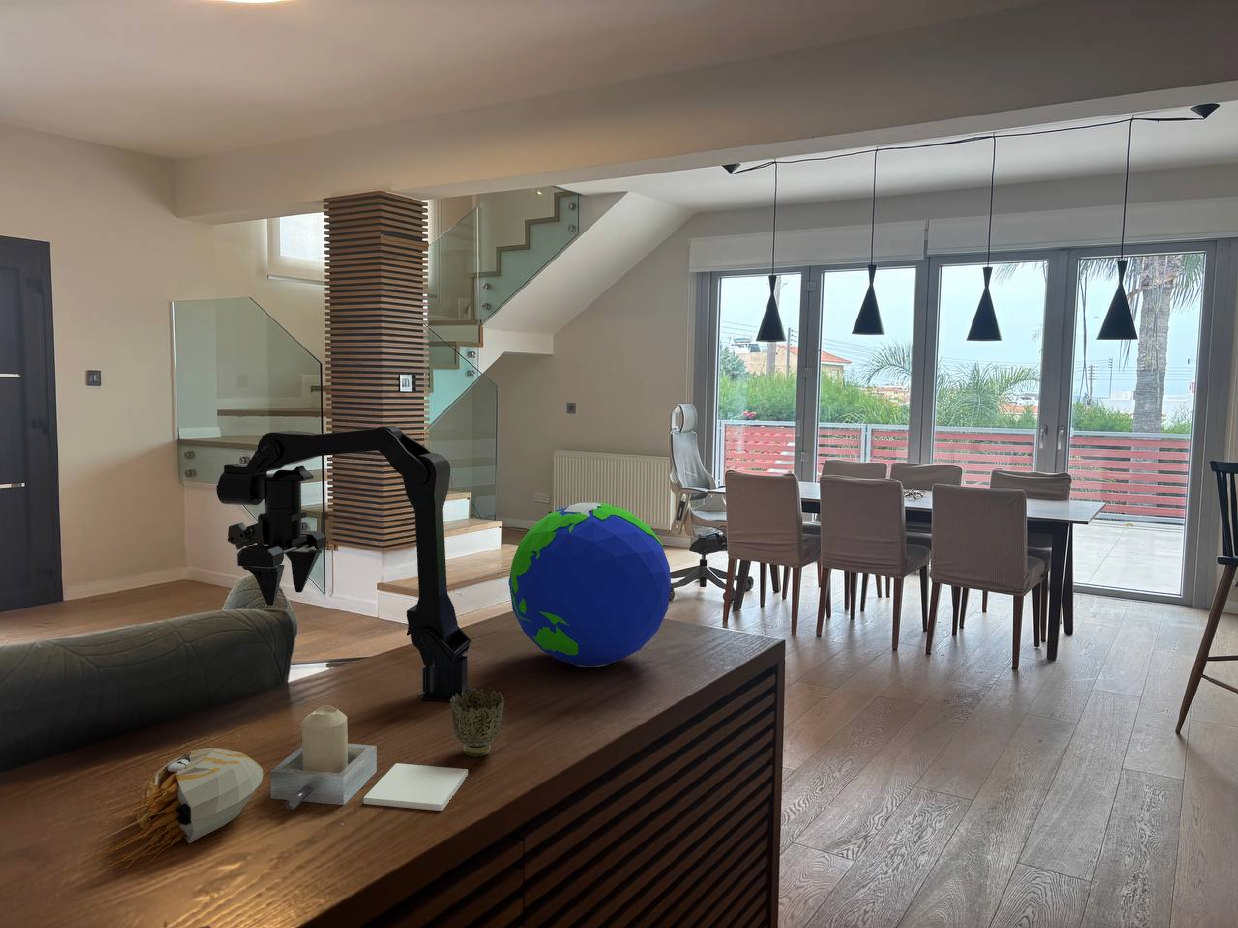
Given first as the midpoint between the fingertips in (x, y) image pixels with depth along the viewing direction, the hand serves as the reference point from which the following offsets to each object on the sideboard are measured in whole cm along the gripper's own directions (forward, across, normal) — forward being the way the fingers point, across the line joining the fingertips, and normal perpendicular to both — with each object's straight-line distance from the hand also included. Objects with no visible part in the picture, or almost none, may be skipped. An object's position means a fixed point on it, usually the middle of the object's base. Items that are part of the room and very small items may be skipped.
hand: (284, 598), depth 151 cm
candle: (+15, +34, +24) cm, 44 cm away
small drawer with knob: (+15, +36, +24) cm, 46 cm away
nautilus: (+15, +48, +13) cm, 52 cm away
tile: (+15, +33, +36) cm, 51 cm away
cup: (+15, +21, +40) cm, 48 cm away
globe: (+15, -21, +48) cm, 55 cm away
